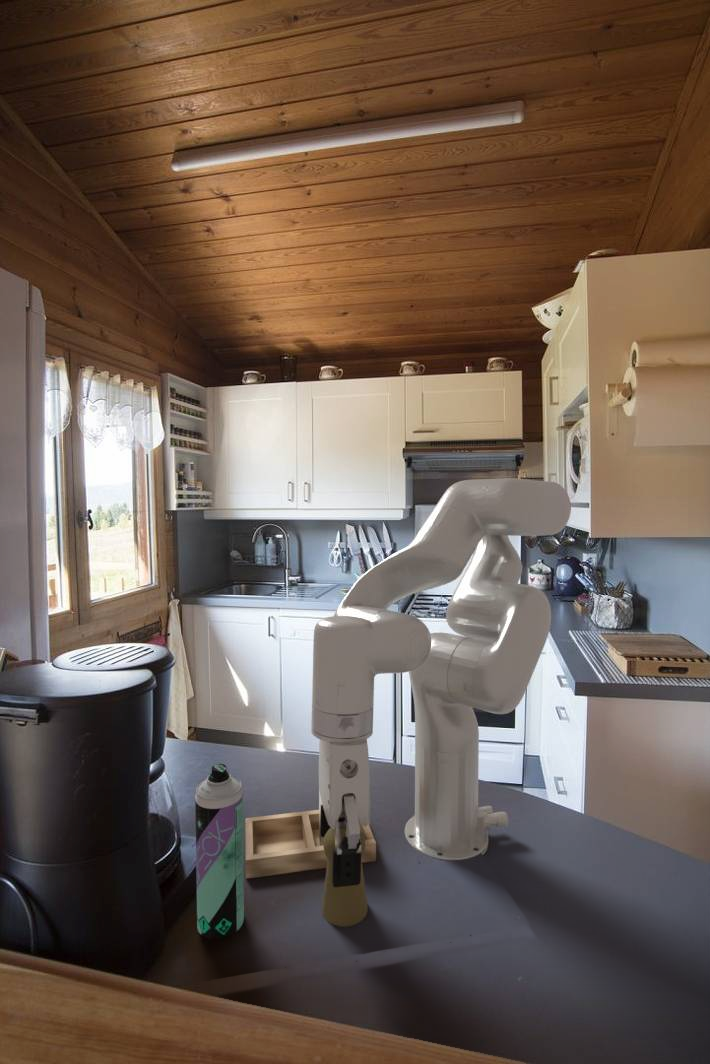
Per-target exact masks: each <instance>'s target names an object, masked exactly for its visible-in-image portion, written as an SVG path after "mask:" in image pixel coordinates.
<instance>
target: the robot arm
mask: <svg viewBox="0 0 710 1064" xmlns="http://www.w3.org/2000/svg"><path fill="white" fill-rule="evenodd" d="M571 505H572V504H571V498H570V496H569V494H568V492H567V490H566V489H565V487H563V485H562V484H560V483H558V482H555V481H545V480H535V479H527V478H517V477H516V478H515V477H512V478H511V477H507V478H506V477H504V478H502V477H501V478H499V477H497V478H477V479H476V478H475V479H473V478H472V479H465V480H460V481H457V482H454V483H453V484H452V485H451V486H449V487H448V488H447V489H446V490H445V492H444V493H443V495H442V496H441V497H440V499H439V500H438V502H437V504H436V505H435V506H434V508H433V509H432V511H431V513H430V514H429V516H428V517H427V519H426V520H425V522H424V523H423V525H422V526H421V528H420V529H419V530H418V532H417V533H416V535H415V537H414V538H413V539H412V541H411V542H410V543H409V544H408V545H406V546H404V547H403V548H401V549H400V550H398V551H396V552H394V553H393V554H391V555H389V556H388V557H386V558H385V559H384V560H382V561H381V562H379V563H377V564H375V565H374V566H373V567H371V568H370V569H368V570H367V571H366V572H364V574H362V575H361V576H360V577H359V578H358V579H357V580H356V582H355V583H353V585H352V586H351V588H350V589H349V591H348V592H347V593H346V595H345V596H344V598H343V599H342V601H341V603H339V606H338V607H337V609H336V611H335V612H334V615H333V616H326V617H324V618H321V619H319V620H318V621H317V622H316V624H315V627H314V629H313V645H312V646H313V649H312V650H313V651H312V654H313V655H312V687H311V689H312V690H311V720H310V721H311V724H310V727H311V730H310V733H311V734H312V735H313V737H315V738H316V739H318V740H319V750H318V792H319V791H320V797H321V801H322V804H323V805H321V813H320V835H321V837H325V834H326V833H327V831H328V830H329V829H330V828H333V829H334V835H335V848H336V850H333V862H332V884H333V886H334V887H344V886H353V885H358V884H360V881H361V841H360V827H359V821H360V824H361V826H363V825H364V826H368V824H369V825H370V823H371V794H370V793H371V788H370V786H371V785H370V783H371V781H370V759H369V758H370V757H369V746H368V739H369V738H370V737H372V736H373V733H374V729H373V728H374V705H375V703H374V701H375V700H374V698H375V695H374V694H375V692H374V691H375V676H376V675H380V674H403V673H408V674H409V675H408V676H409V680H410V687H411V690H412V697H413V705H414V721H415V722H414V742H415V744H414V815H412V816H411V817H410V818H409V820H408V821H407V822H406V824H405V826H404V836H405V839H406V840H407V842H408V844H409V845H410V846H411V847H413V848H414V849H415V850H416V851H418V852H420V853H421V854H423V855H425V856H428V857H431V858H433V859H438V860H444V861H462V860H467V859H468V860H469V859H471V858H474V857H476V856H479V855H480V854H481V855H482V856H484V855H485V853H486V852H487V850H488V849H489V834H488V831H490V829H491V827H492V828H493V827H496V828H497V827H504V826H509V822H510V821H509V816H508V814H507V813H506V811H498V812H494V810H493V807H492V806H491V805H485V806H484V805H483V806H479V758H480V757H479V754H480V752H479V749H480V748H479V746H480V741H479V740H480V735H479V734H480V733H479V731H480V730H479V723H478V720H477V716H476V714H475V711H474V709H477V710H481V711H484V712H486V713H491V714H494V715H495V714H496V715H505V714H506V715H507V714H510V713H511V712H513V711H514V710H515V709H516V708H517V707H518V706H519V704H520V703H521V701H522V700H523V697H524V695H525V694H526V691H527V689H528V687H529V684H530V681H531V679H532V677H533V675H534V672H535V669H536V668H537V667H536V666H537V665H538V663H539V660H540V657H541V655H542V653H543V650H544V647H545V645H546V642H547V639H548V637H549V633H550V629H551V622H552V609H551V605H550V601H549V599H548V597H547V595H546V594H545V593H544V591H542V590H541V589H539V588H537V587H535V586H534V585H528V584H522V583H519V582H520V579H521V576H522V573H523V563H522V561H521V560H522V559H521V558H520V555H519V553H518V551H517V550H516V549H515V547H514V546H513V544H512V541H511V540H510V537H509V536H514V537H515V536H519V537H520V536H521V537H538V536H539V537H540V536H554V535H556V534H558V533H560V532H562V530H563V529H564V528H565V527H566V526H567V524H568V522H569V521H570V517H571V513H572V512H571V511H572V510H571V509H572V506H571ZM469 561H470V562H469ZM466 566H467V568H466ZM465 568H466V569H465ZM463 572H464V573H463ZM462 574H463V575H462ZM461 575H462V576H461ZM460 576H461V578H460V580H459V582H458V584H457V586H456V587H455V589H454V592H453V593H452V596H451V598H450V599H449V602H448V604H447V607H446V612H445V616H446V617H445V620H446V623H447V625H448V627H449V628H450V629H451V630H452V631H453V632H454V633H456V634H454V633H453V634H452V633H447V632H432V633H430V630H429V628H428V626H427V625H426V624H425V623H424V622H423V621H422V620H421V619H420V618H418V617H416V616H414V615H412V614H408V613H406V612H399V611H394V610H389V608H390V607H391V606H393V604H395V603H397V602H398V601H400V600H402V599H403V598H406V597H408V596H411V595H413V594H416V593H417V594H418V593H420V592H424V591H428V590H431V589H432V590H433V589H436V588H438V587H441V586H444V585H448V584H450V583H451V582H452V583H453V582H454V581H456V580H457V579H458V578H459V577H460ZM473 708H474V709H473ZM358 819H359V821H358ZM341 829H346V837H343V839H342V841H341V833H340V830H341ZM475 849H476V850H475ZM438 854H439V855H438ZM440 854H441V855H440Z"/></svg>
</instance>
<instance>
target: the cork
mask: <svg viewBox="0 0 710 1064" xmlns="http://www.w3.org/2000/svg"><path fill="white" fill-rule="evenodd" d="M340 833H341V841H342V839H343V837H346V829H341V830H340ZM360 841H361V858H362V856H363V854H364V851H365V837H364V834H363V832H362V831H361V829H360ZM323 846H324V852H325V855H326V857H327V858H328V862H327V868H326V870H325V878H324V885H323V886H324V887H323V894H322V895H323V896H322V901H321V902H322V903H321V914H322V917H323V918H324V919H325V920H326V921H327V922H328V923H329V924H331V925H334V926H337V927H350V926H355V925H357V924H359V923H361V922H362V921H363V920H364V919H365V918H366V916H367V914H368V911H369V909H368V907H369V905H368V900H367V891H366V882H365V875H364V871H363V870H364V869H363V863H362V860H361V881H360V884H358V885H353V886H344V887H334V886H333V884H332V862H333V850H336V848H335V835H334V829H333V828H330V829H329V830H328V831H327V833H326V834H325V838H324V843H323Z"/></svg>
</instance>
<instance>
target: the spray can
mask: <svg viewBox="0 0 710 1064" xmlns="http://www.w3.org/2000/svg"><path fill="white" fill-rule="evenodd" d="M242 785H243V784H242V781H241V780H240V779H239V778H237V777H236V776H235V777H234V776H232V775H231V773H229V772H228V770H227V765H226V764H223V763H217V764H214V765H212V767H211V773H210V774H209V775H208V776H207V777H206V779H205V780H202V781H201V782H200V783H199V784H198V785H197V786H196V788H195V795H194V797H195V799H194V800H195V801H194V803H195V804H194V806H195V807H194V808H195V809H194V810H195V856H196V857H195V858H196V859H195V860H196V861H195V865H196V867H195V869H196V871H195V872H196V874H195V875H196V918H197V919H196V925H197V926H196V928H197V932H198V933H199V935H200V936H202V937H203V938H205V939H209V940H222V939H225V938H226V939H227V938H228V937H231V936H233V935H234V934H236V933H237V932H238V931H239V930H240V929H241V927H242V925H243V924H244V920H245V898H244V897H245V890H244V889H245V887H244V886H245V884H244V882H245V881H244V876H245V875H244V808H243V807H244V804H243V803H244V800H243V796H244V795H243V790H244V789H243V788H242V787H243V786H242Z"/></svg>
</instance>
